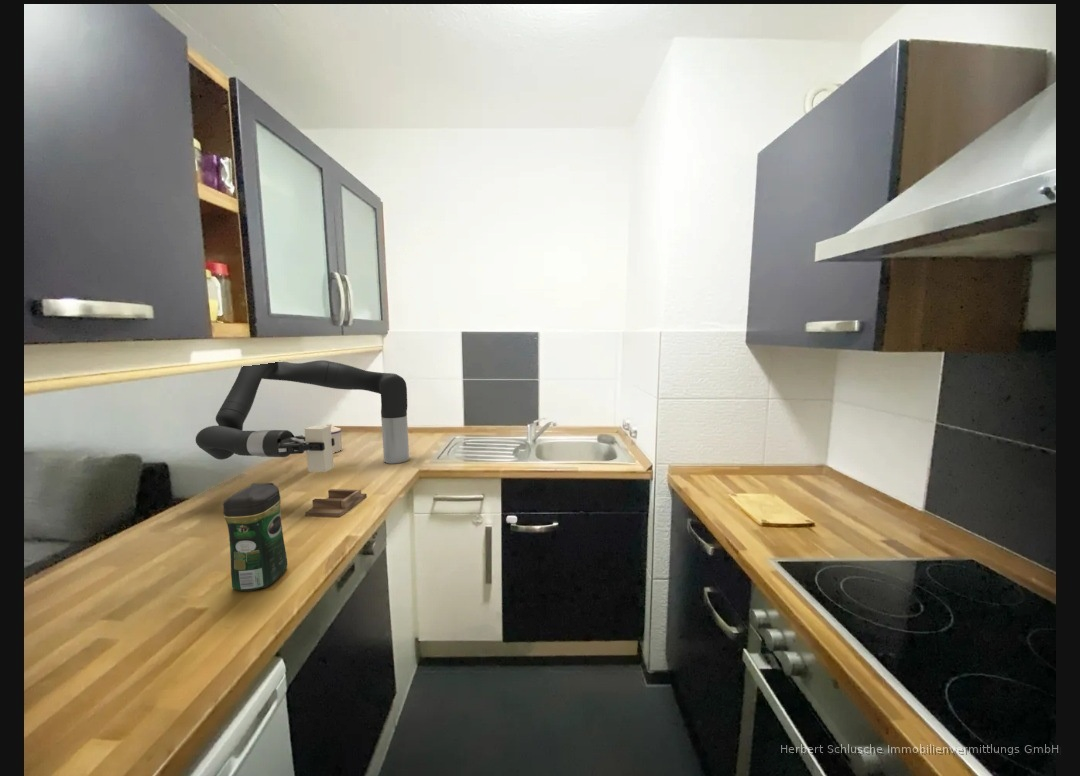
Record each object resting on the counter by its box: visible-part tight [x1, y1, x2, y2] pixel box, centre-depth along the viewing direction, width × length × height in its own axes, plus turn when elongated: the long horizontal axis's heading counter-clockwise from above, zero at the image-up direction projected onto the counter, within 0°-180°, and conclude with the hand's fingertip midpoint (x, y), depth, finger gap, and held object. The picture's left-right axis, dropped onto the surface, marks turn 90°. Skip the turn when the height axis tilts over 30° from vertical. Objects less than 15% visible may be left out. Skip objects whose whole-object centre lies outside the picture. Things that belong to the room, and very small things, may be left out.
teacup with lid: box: [325, 423, 343, 453], centre depth 175 cm, size 12×9×12 cm
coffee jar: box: [222, 482, 288, 592], centre depth 82 cm, size 10×8×19 cm
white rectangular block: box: [304, 425, 335, 473], centre depth 117 cm, size 4×5×12 cm
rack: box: [304, 488, 368, 518], centre depth 118 cm, size 14×10×3 cm
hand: (328, 444), depth 116 cm, fingers closed on white rectangular block, 4 cm apart
